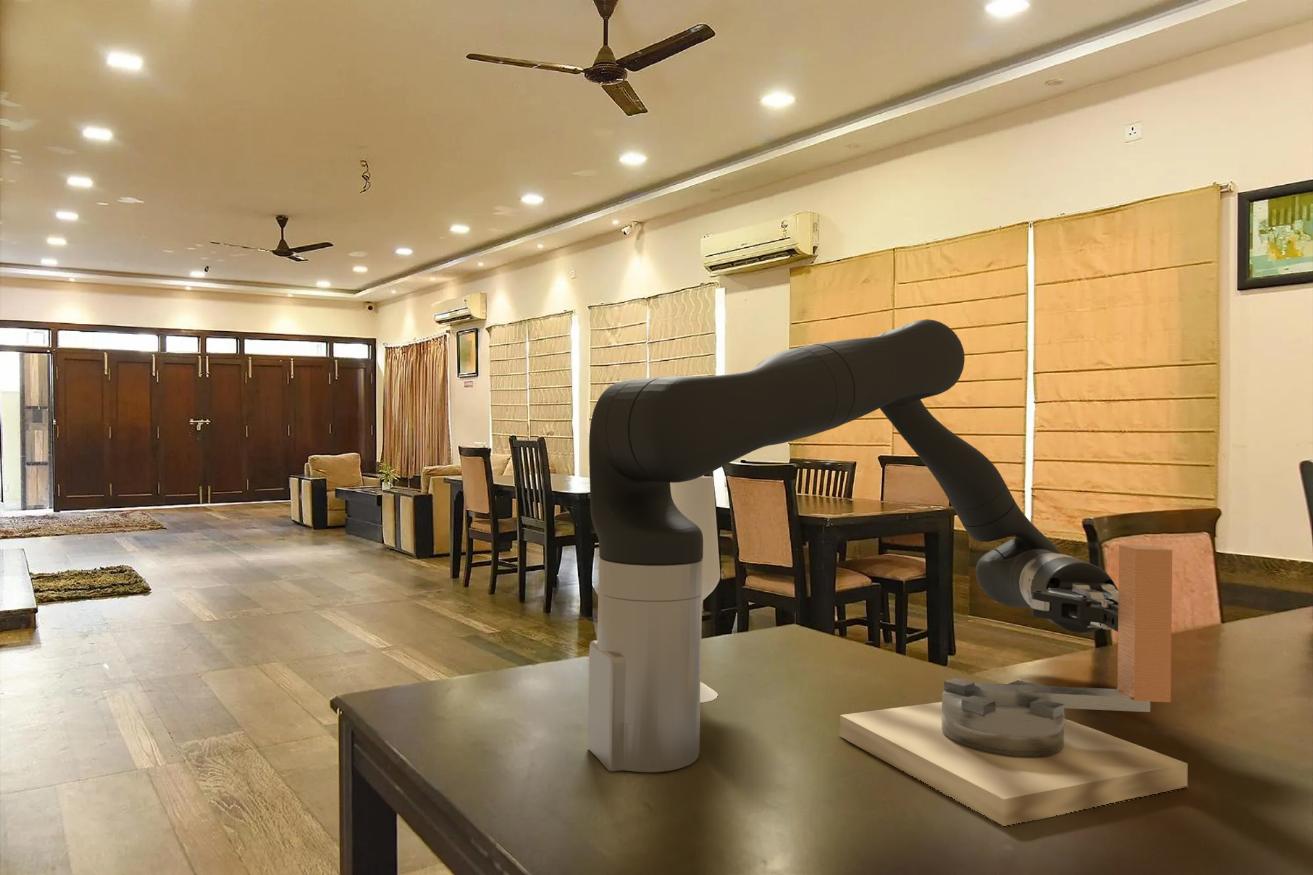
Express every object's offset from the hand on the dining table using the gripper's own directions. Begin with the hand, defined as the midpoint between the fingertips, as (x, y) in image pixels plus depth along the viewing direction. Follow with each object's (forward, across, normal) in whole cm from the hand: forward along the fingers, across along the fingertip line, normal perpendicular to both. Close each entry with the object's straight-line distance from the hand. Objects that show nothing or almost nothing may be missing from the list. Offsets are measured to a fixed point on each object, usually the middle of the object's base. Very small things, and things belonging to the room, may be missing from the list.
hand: (1136, 625), depth 73 cm
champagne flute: (-12, -41, +12) cm, 45 cm away
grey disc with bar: (+2, -8, +10) cm, 13 cm away
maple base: (+2, -12, +12) cm, 17 cm away
